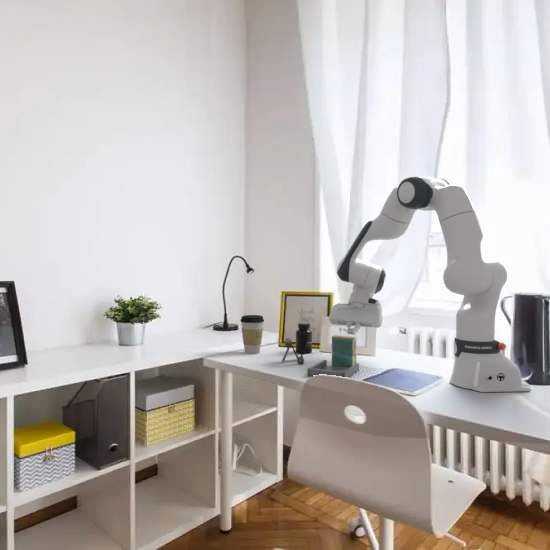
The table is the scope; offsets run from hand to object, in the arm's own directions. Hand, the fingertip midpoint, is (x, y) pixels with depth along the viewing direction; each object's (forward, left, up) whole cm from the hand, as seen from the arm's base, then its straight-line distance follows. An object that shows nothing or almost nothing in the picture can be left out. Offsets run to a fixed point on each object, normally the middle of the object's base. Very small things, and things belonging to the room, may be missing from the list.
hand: (350, 333), depth 181 cm
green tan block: (+3, +8, -11) cm, 14 cm away
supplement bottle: (+19, -16, -11) cm, 27 cm away
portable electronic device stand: (+22, +2, -11) cm, 24 cm away
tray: (+6, +17, -11) cm, 21 cm away
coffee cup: (+40, -13, -11) cm, 43 cm away
